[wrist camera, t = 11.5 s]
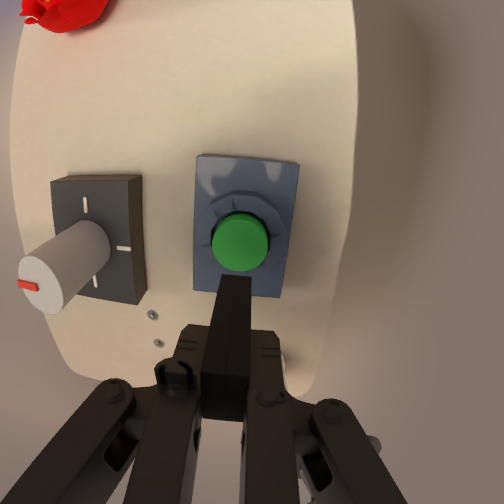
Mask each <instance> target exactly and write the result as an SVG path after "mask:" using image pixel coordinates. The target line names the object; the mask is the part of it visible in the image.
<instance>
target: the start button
mask: <svg viewBox="0 0 504 504" xmlns="http://www.w3.org/2000/svg"><path fill="white" fill-rule="evenodd" d="M212 250H213V253H214V256H215V258H216V259H217V260H218V262H219V263H220V264H221V265H223V266H224V267H226V268H227V269H230V270H233V271H248V270H251V269H253V268H255V267H257V266H258V265H259V264H260V263H261V262H262V261H263V260H264V258H265V256H266V254H267V250H268V242H267V234H266V231H265V228H264V226H263V225H262V223H261V222H260V221H259V220H258V219H256V218H255V217H253V216H251V215H248V214H233V215H230V216H228V217H226V218H225V219H224V220H222V221H221V223H220V224H219V225H218V227H217V229H216V232H215V234H214V237H213V240H212Z"/></svg>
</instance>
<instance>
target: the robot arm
mask: <svg viewBox="0 0 504 504" xmlns="http://www.w3.org/2000/svg"><path fill="white" fill-rule="evenodd" d="M251 291H252V277H251V276H240V275H229V274H222V275H221V279H220V283H219V287H218V292H217V296H216V301H215V305H214V309H213V314H212V318H211V323H210V326H202V325H194V324H188V325H187V326H186V327H185V328H184V329H183V330H182V331H181V334H180V337H179V339H178V342H177V345H176V348H175V351H174V354H173V357H171V358H167V359H164V360H162V361H160V362H159V363H158V364H157V365H156V367H155V368H154V371H155V376H156V380H157V384H156V385H153V386H150V387H139V388H132V387H131V385H130V384H129V383H127V382H126V381H125V380H122V379H118V378H114V379H108V380H105V381H103V382H102V383H101V384H99V385H98V386H97V387H96V388H95V390H94V391H93V392H92V393H91V394H90V395H89V396H88V398H87V399H86V400H85V401H84V402H83V403H82V404H81V406H80V407H79V408H78V409H77V410H76V411H75V413H74V414H73V415H72V416H71V417H70V418H69V419H68V421H67V422H66V423H65V424H64V425H63V426H62V428H61V429H60V430H59V431H58V433H56V435H55V436H54V437H53V438H52V440H51V441H50V442H49V443H48V444H47V445H46V447H45V448H44V449H43V450H42V451H41V453H40V454H39V455H38V456H37V457H36V459H35V460H34V461H33V462H32V463H31V465H30V466H29V467H28V468H27V470H26V471H25V472H24V473H23V475H22V476H21V477H20V478H19V480H18V481H17V482H16V483H15V485H14V486H13V487H12V488H11V490H10V491H9V492H8V494H7V495H6V496H5V497H4V499H3V500H2V501H1V503H0V504H106V502H107V501H108V499H109V498H110V496H111V495H112V493H113V491H114V490H115V488H116V487H117V485H118V484H119V482H120V481H121V479H122V477H123V476H124V474H125V473H126V471H127V470H128V468H129V466H130V465H131V463H132V462H133V460H134V459H135V460H134V464H133V468H132V471H131V475H130V478H129V482H128V486H127V490H126V494H125V497H124V501H123V504H191V502H192V495H193V487H194V480H195V472H196V465H197V458H198V451H199V444H200V437H201V420H202V416H203V418H205V419H214V420H224V421H235V422H243V431H242V438H241V469H240V495H239V504H300V498H299V486H298V475H297V464H296V456H297V459H298V461H299V464H300V466H301V467H300V475H301V478H302V479H303V482H304V483H305V485H306V487H307V489H308V491H309V492H310V494H311V500H312V501H311V502H310V503H308V504H311V503H312V504H407V502H406V500H405V499H404V497H403V495H402V493H401V492H400V490H399V488H398V487H397V485H396V483H395V482H394V481H393V478H392V477H391V475H390V473H389V472H388V470H387V468H386V467H385V465H384V463H383V462H382V460H381V458H380V457H379V455H378V453H377V452H376V450H375V448H374V447H373V445H372V443H371V442H370V440H369V438H368V437H367V435H366V433H365V432H364V430H363V428H362V427H361V425H360V423H359V422H358V420H357V418H356V417H355V415H354V413H353V412H352V410H351V408H350V407H349V406H348V405H347V404H346V403H344V402H342V401H341V400H337V399H324V400H322V401H319V402H318V403H317V404H316V405H314V404H310V403H306V402H303V401H300V400H297V399H295V398H294V397H292V396H291V395H290V394H289V393H288V392H287V390H286V389H285V385H284V377H283V368H282V359H281V350H280V341H279V338H278V337H277V335H276V334H275V332H274V331H266V330H252V329H251Z"/></svg>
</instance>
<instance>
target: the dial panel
mask: <svg viewBox="0 0 504 504" xmlns="http://www.w3.org/2000/svg"><path fill="white" fill-rule="evenodd" d="M50 185H51V199H52V210H53V219H54V227H55V234H56V235H58V234H60V233H61V232H63V231H64V230H66V229H68V228H69V227H71V226H73V225H74V224H76V223H78V222H79V221H82V220H89V221H93V222H95V223H96V224H98V225H99V226H100V227H101V228H102V229H103V230H104V231H105V233H106V235H107V237H108V239H109V242H110V248H111V251H110V257H109V260H108V262H107V263H106V264H105V265H104V266H103V267H102V268H101V269H100V270H99V271H98V272H97V273H96V274H95V275H94V276H93V277H92V278H91V279H90V280H89V281H88V282H87V283H86V284H85V285H84V286H83V287H82V289H81V290H80V291H79V292H78V293H77V295H82V296H87V297H92V298H98V299H103V300H109V301H114V302H120V303H126V304H133V305H138V304H139V302H140V301H141V299H142V297H143V296H144V294H145V292H146V291H147V284H146V274H145V262H144V248H143V229H142V175H84V176H66V177H63V178H60V179H57V180H54V181H51V182H50Z"/></svg>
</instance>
